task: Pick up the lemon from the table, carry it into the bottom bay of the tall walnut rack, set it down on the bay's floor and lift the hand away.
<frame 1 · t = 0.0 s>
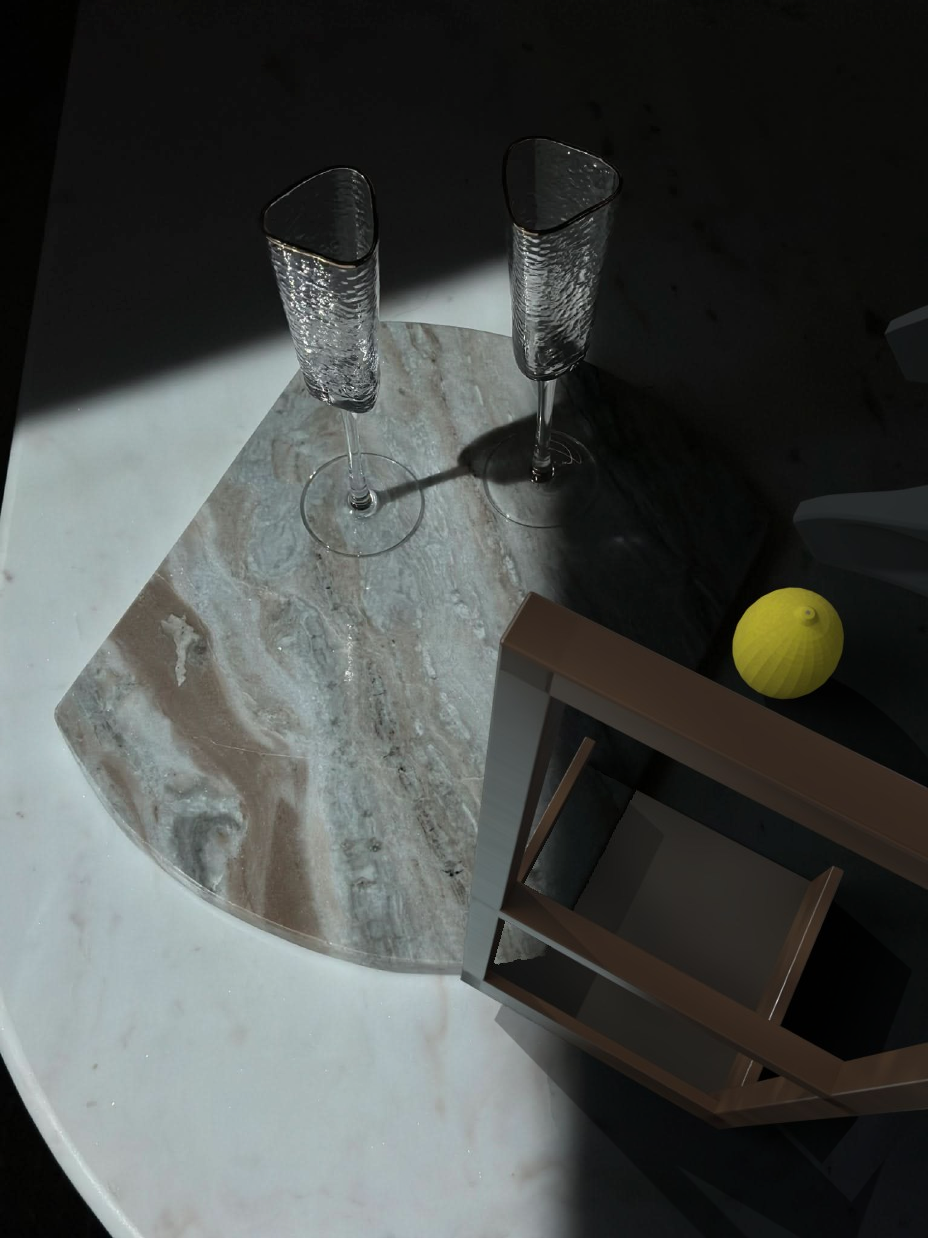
hand: (855, 437, 35), 31 cm above the table, tool tilted 50°, fingers open, 7 cm apart
lemon: (766, 674, 65), on the table
rack: (740, 827, 40), on the table
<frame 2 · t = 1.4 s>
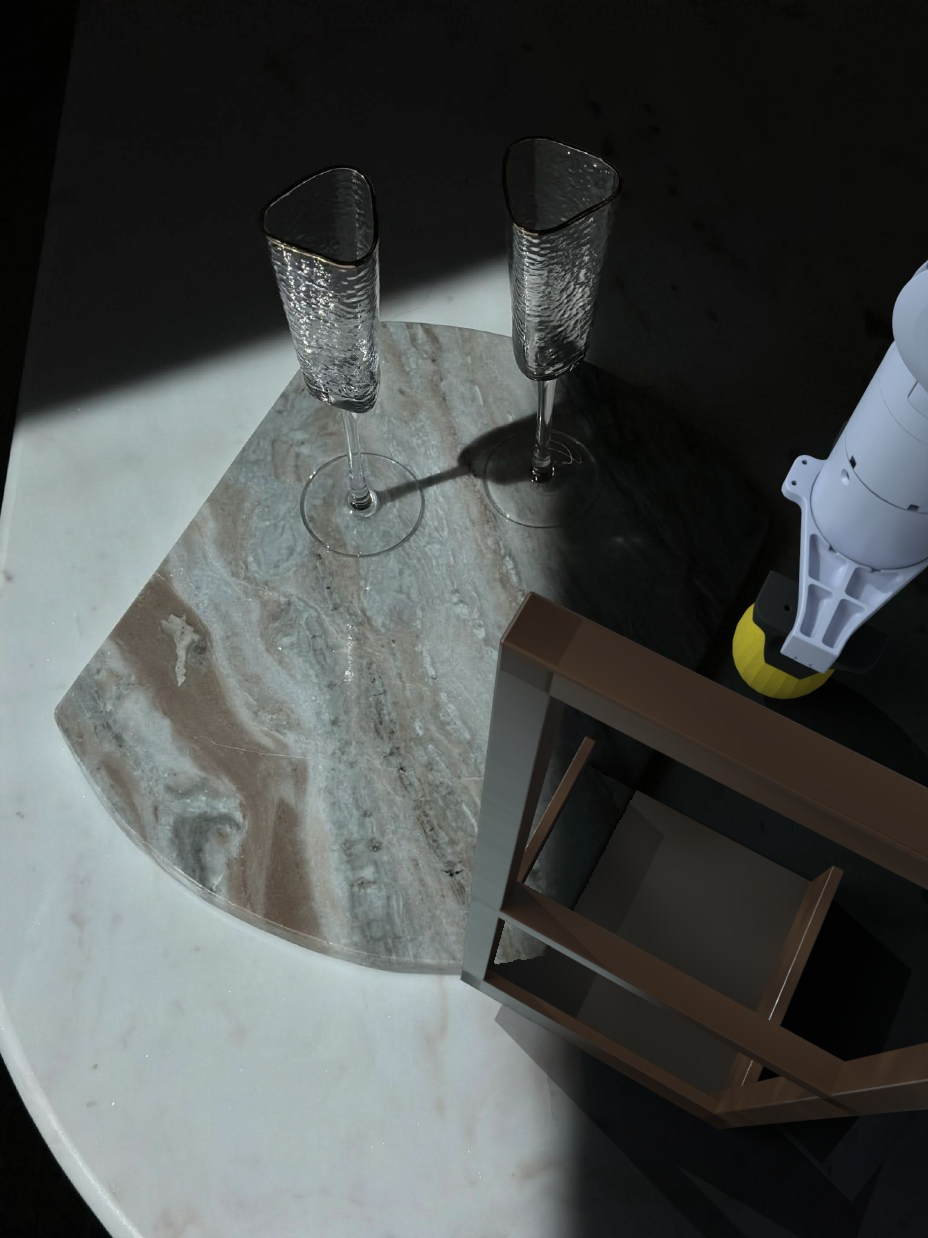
hand: (814, 603, 57), 9 cm above the table, tool pointing down, fingers open, 7 cm apart
nothing on the table moved.
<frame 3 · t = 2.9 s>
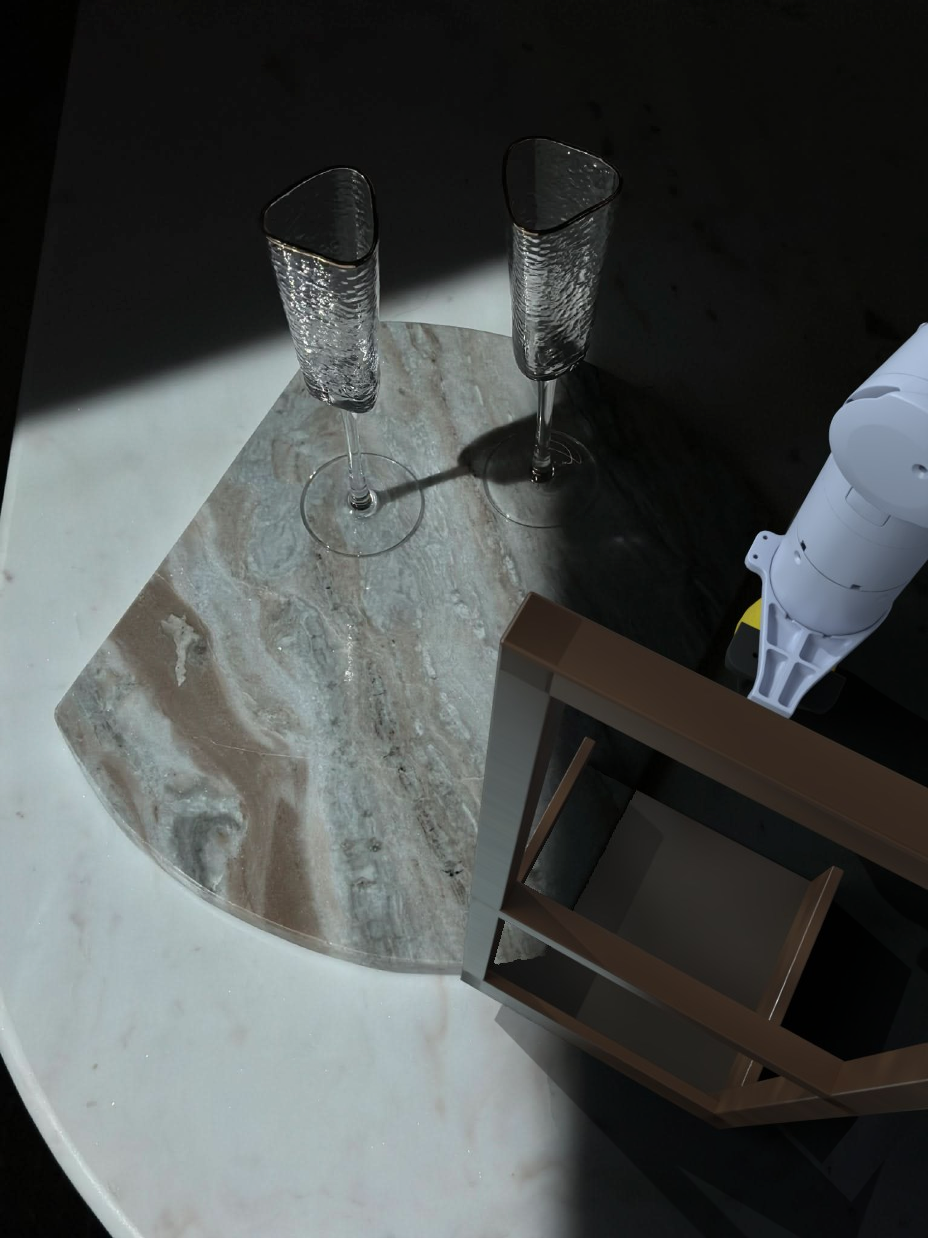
hand: (779, 656, 63), 2 cm above the table, tool pointing down, fingers closed on lemon, 5 cm apart
lemon: (766, 674, 65), on the table, touching gripper
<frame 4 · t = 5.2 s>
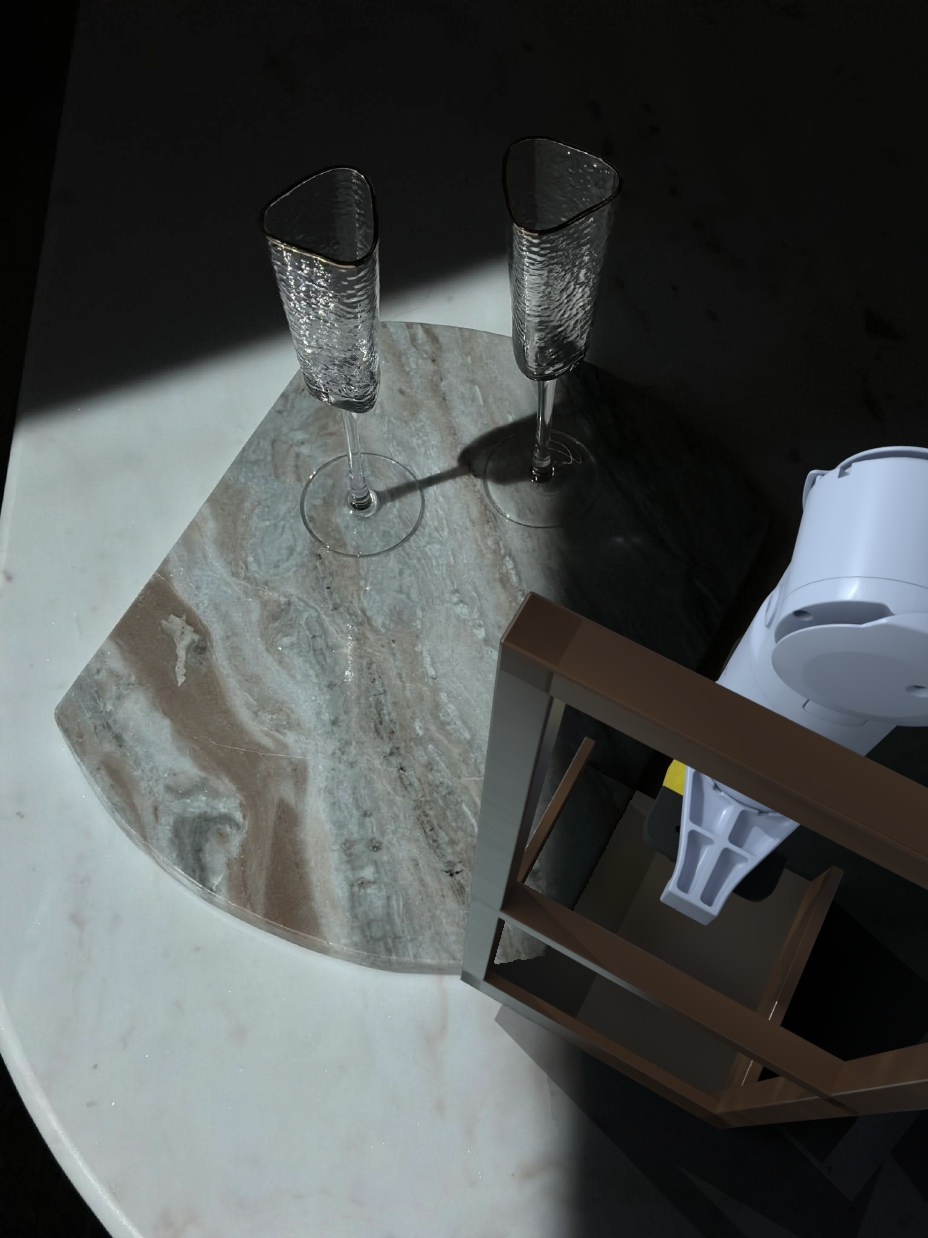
hand: (718, 805, 53), 8 cm above the table, tool pointing down, fingers closed on lemon, 5 cm apart
lemon: (705, 820, 56), point 6 cm above the table, touching gripper
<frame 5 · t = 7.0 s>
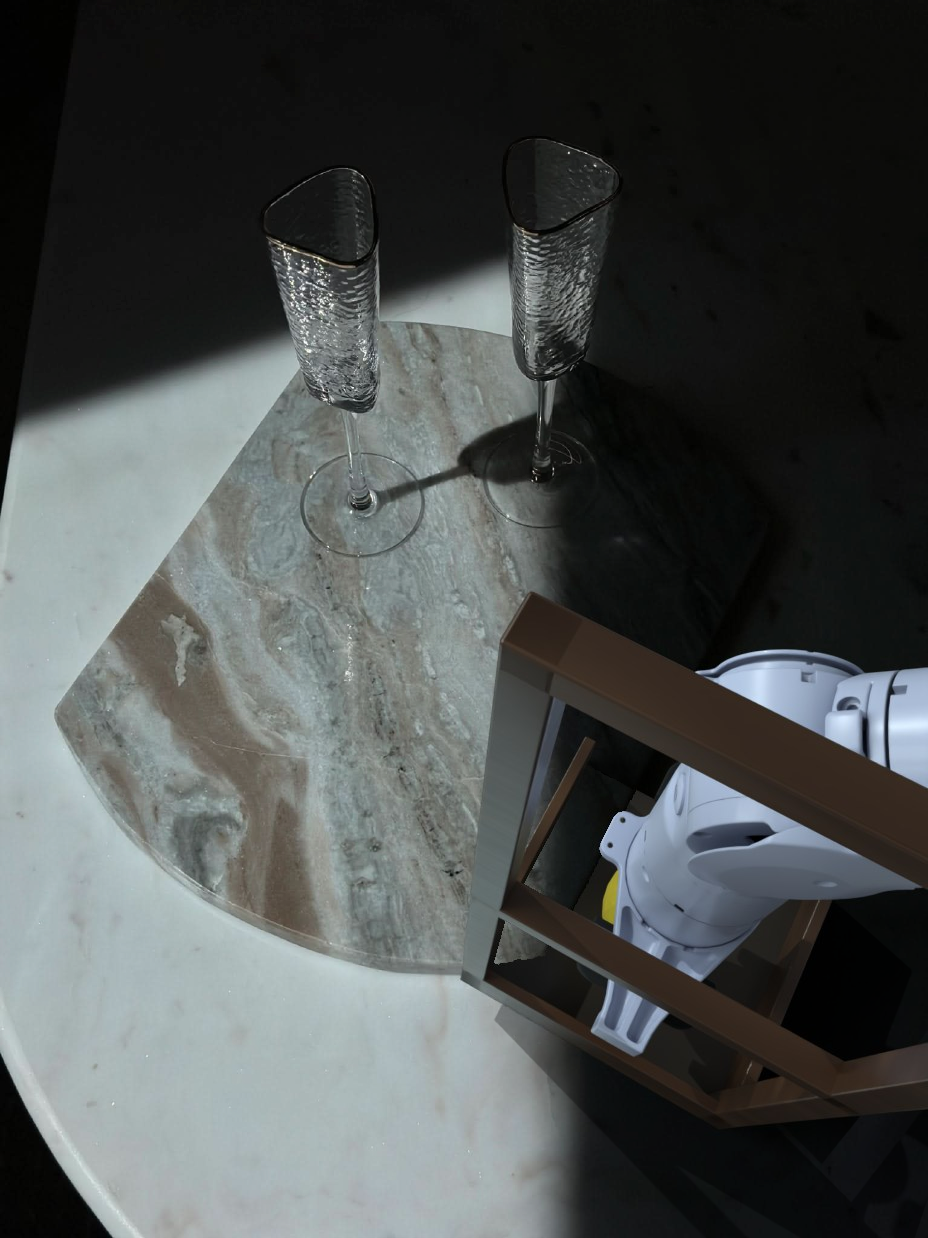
hand: (657, 917, 55), 4 cm above the table, tool pointing down, fingers closed on lemon, 5 cm apart
lemon: (647, 928, 58), point 2 cm above the table, touching gripper
when the fingers open (3 cm above the table, at t = 8.0 s): lemon stays where it is, resting on rack.
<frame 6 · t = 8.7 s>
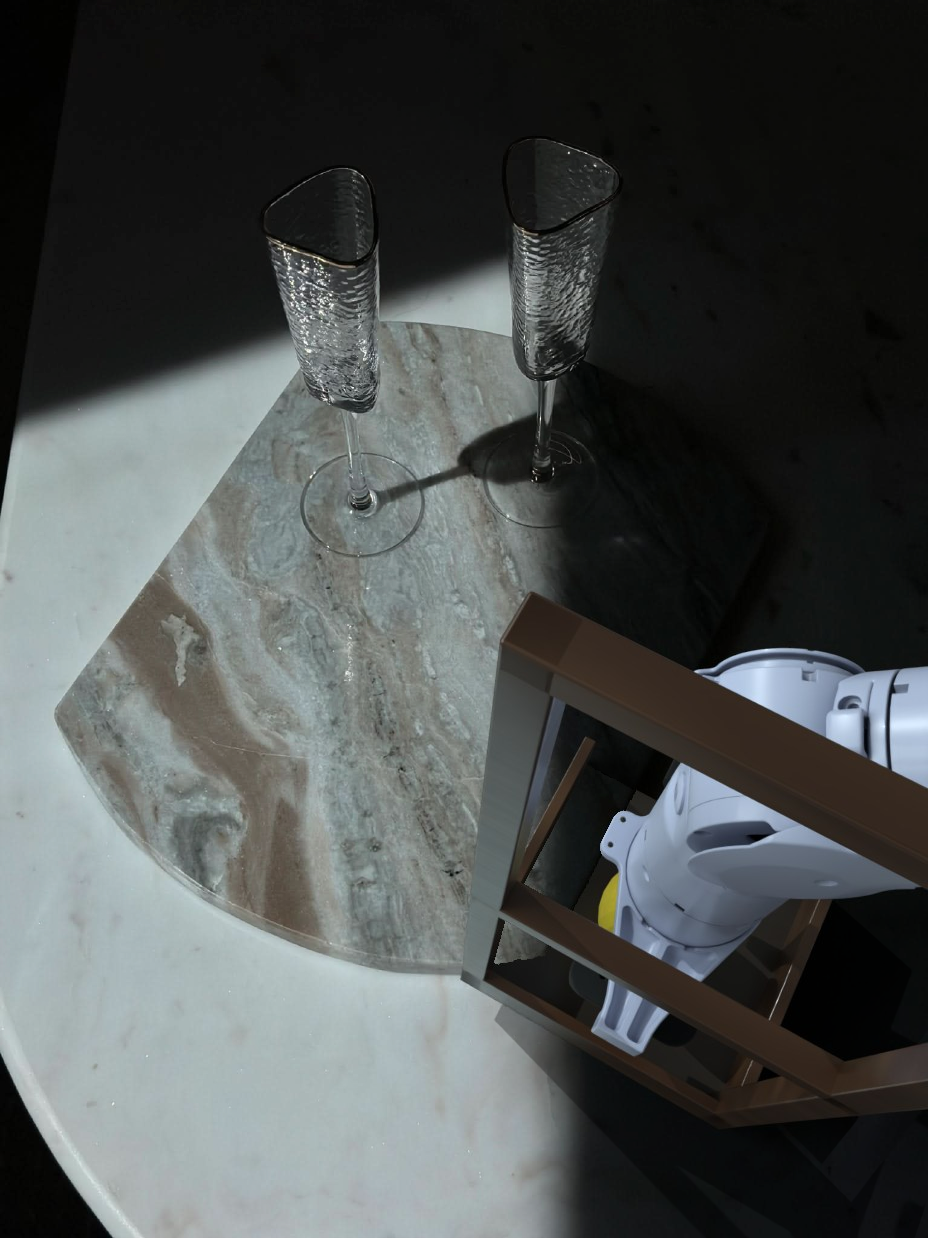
hand: (658, 917, 55), 4 cm above the table, tool pointing down, fingers open, 7 cm apart
lemon: (642, 933, 59), resting on rack
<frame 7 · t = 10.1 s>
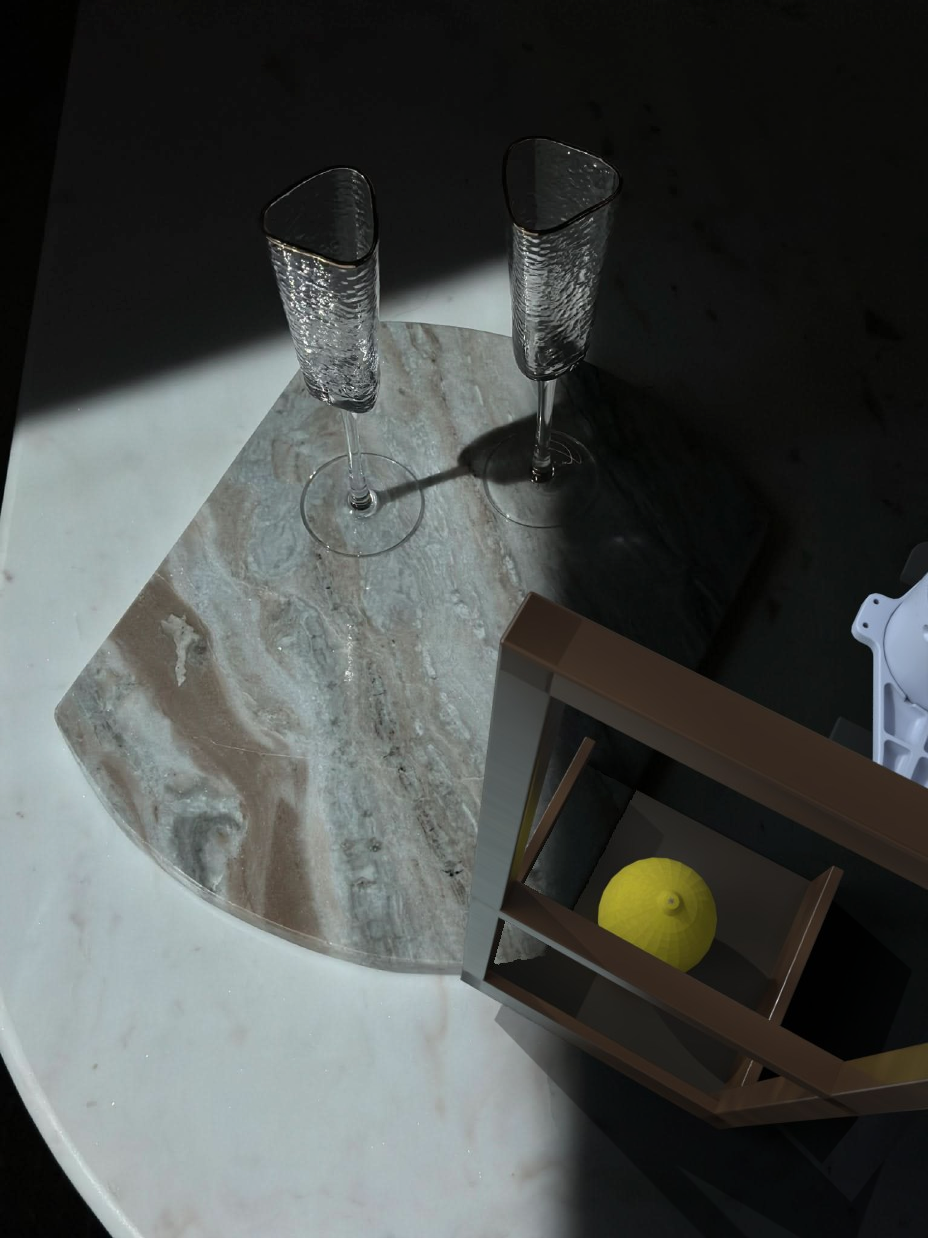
hand: (877, 731, 54), 9 cm above the table, tool pointing down, fingers open, 7 cm apart
nothing on the table moved.
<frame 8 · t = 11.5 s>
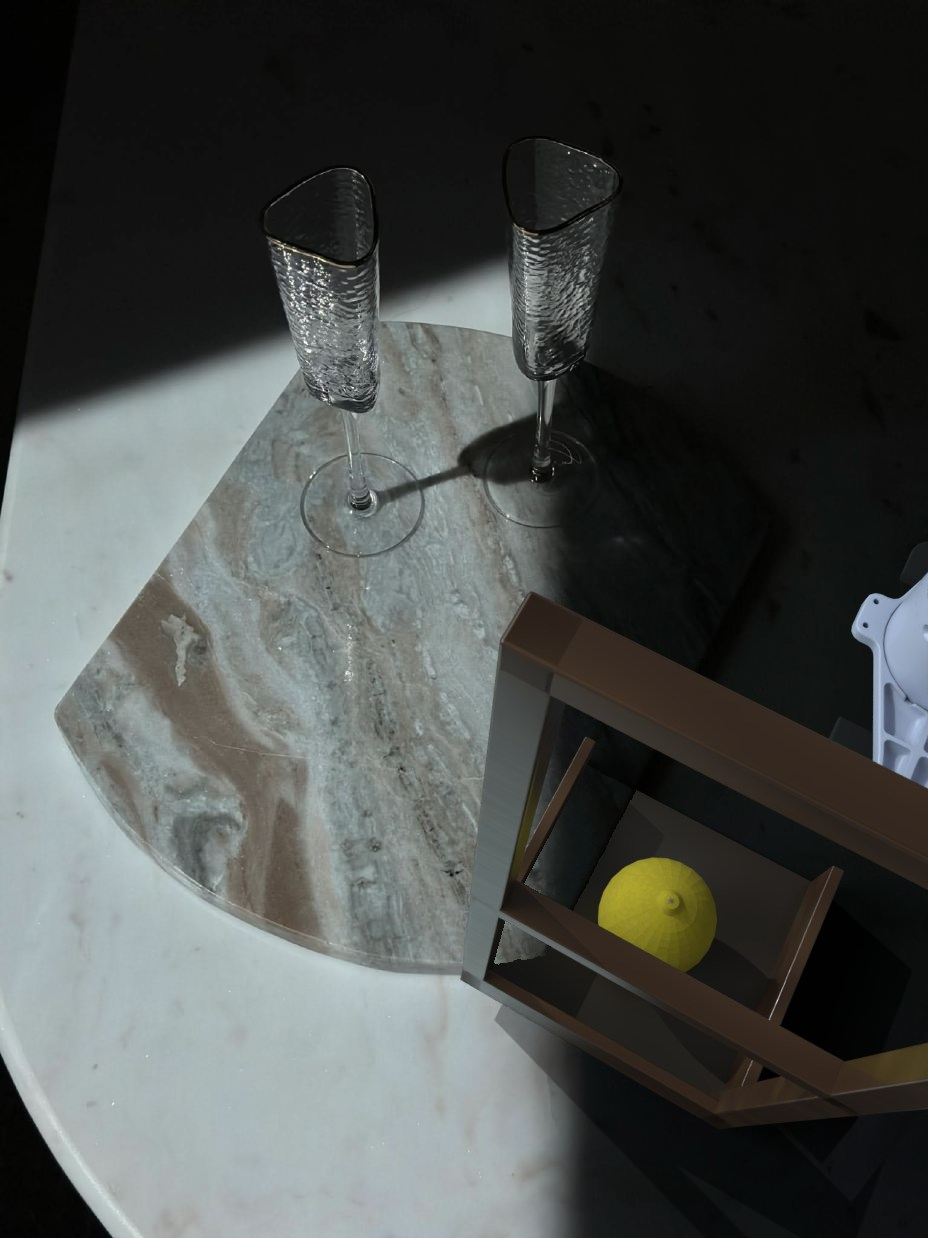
hand: (877, 731, 54), 9 cm above the table, tool pointing down, fingers open, 7 cm apart
nothing on the table moved.
at the end: lemon inside the target area under the rack (0.1 cm from its centre), point -21.0 cm above the rack's base; the gripper is holding nothing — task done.
